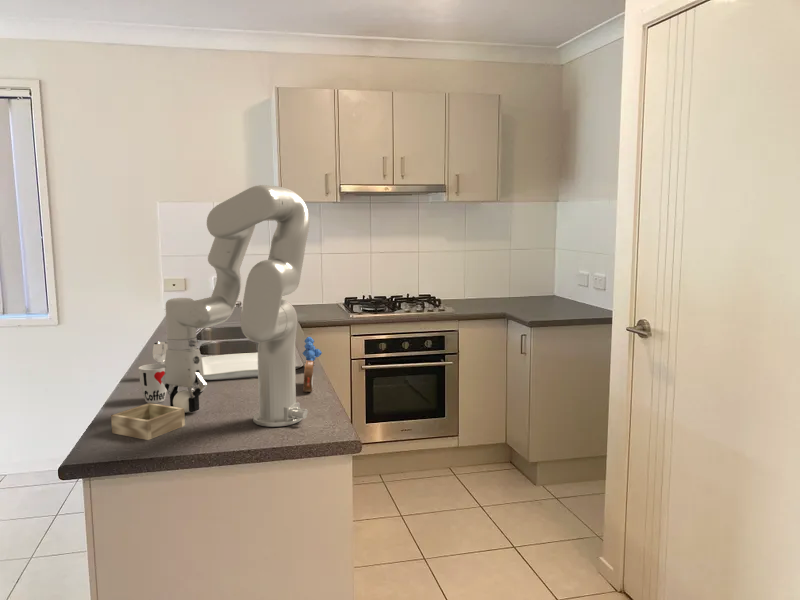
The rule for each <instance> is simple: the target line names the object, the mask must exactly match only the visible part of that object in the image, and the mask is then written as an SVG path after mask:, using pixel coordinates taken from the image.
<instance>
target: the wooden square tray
mask: <svg viewBox="0 0 800 600" xmlns="http://www.w3.org/2000/svg"><path fill="white" fill-rule="evenodd" d="M185 416H186V414H185V413H184V408H178V407H172V406H170V405H164V404H160V403H159V404H157V403H147V402H146V403H145V404H141V405H138V406H136V407H133V408H129V409H126V410H123V411H120V412H117V413H114V414H110V417H111V418H110V420H111V421H110V422H111V434H116V435H120V436H124V437H125V436H126V437H131V438H135V439H141V440H146V441H150V440H152V439H155V438H157V437H160V436H162V435H164V434H167V433H169V432H172V431H176V430H177V429H181V428H183V427H185V426H186V421H185V420H186V419H185V418H186V417H185Z"/></svg>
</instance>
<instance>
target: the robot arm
mask: <svg viewBox="0 0 800 600" xmlns="http://www.w3.org/2000/svg"><path fill="white" fill-rule="evenodd" d="M309 212H310V211H309V208H308V207H307V203H306V202H305V201H304V199H303V198H302V197H301V196H300V195H299V194H298V193H296V192H295V191H294V190H292V189H289V188H287V187H283V186H278V185H267V184H258V185H255V186H251V187H249V188H247V189H244V190H242V192H239V193H238V194H236V195H233V196H232V197H230V198H228V199H226V200H224V201H222V202H221V203H219V204H217V205H215V206H214V207H213V208H212V209H210V211H209V213H208V214H207V216H206V217H207V218H206V228H207V231H208V232H209V234H210V235H211V237H213V238H214V239H213V242H212V245H211V248H210V251H209V253H208V256H207V262H208V264H209V266H211V267H213V268H214V270H215V273H216V282H215V285H214V288H213V291H212V294H211V296H209V297H205V298H200V299H195V300H194V299H192V298H190V297H174V298H169V299H168V300H167V301H166V302H165V319H166V321H165V322H166V326H165V327H166V342H167V350H166V356H165V362H164V364H165V374H164V376H163V377H162V378H161V381H162V383H163V384H164V385H165V388H166V389H167V394H168V395H169V406H172V407H174V406H173V398H174V396H175V395H176V394H177V393H178V392H179V390H180V387H181V388H187V391H189V394H190V398H189V412H188V413H191V414H192V413H195V412H197V411H199V410H200V400H199V399H200V396H201V395H202V393H203V392H204V390H205V389H206V388H207V387H208V383H207V382H206V380H205V379H204V373H203V364H202V358H201V357H202V354H201V351H200V349H199V348H198V346H199V344H200V343H199V341H197V340H198V338H197V329H199V330H200V329H206V328H210V327H212V326H215V325H219V324H222V323H224V322H226V321H228V319H229V318H230V317H231V316H232V314H233V312H234V310H235V308H236V305H237V302H238V299H239V296H240V293H241V285H242V283H241V281H242V279H241V270H240V269H241V266H242V264H243V261H244V258H245V256H246V252H247V250H248V247H249V244H250V242H251V240H252V236H253V233H254V231H255V228H256V225H258V224H260V223H262V222H265V221H266V222H267V221H273V222H274V221H275V222H276V223H277V225H276V228H275V230H274V232H273V235H272V238H271V242H270V250H269V254H268V259H264V260H262V261H259V262H257V263H256V264H255V265H254V266H252V268H251V269H250V270H249V273H248V275H247V278H246V282H245V287H244V293H243V300H242V307H241V310H240V329H241V333H242V334H243V335H244V336H245V338H246V339H247V340H249V341H251V342H253V343H258V344H257V345H258V346H257V353H258V377H257V384H258V388H257V389H258V391H257V392H258V412H257V413H254V415H253V417H252V418H253V419H252V420H253V423H254V424H256V425H258V426H262V427H267V428H268V427H269V428H271V427H272V428H275V427H278V428H279V427H285V426H292V425H295V424H297V423H299V422H300V421H302V420H304V419H306V418H307V417H308V412H309V410H308V409H307V408H301V407H300V402H299V401H297V392H296V391H297V389H296V387H297V385H296V339H297V338H296V337H297V329H298V314H297V311H296V309H295V307H294V306H293V305H292V304H291V303H290V302H289V301H287V300H286V299H282V298H283V297H285V296H288V295H291V294H293V293H294V292H296V290H297V289H298V287H299V285H300V282H301V275H302V270H303V265H304V264H303V263H304V259H305V258H304V257H305V251H306V244H307V242H308V241H307V240H308V235H309V232H310V231H309V230H310V229H309V228H310V221H311V220H310V219H311V218H310V213H309Z"/></svg>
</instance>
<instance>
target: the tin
mask: <svg viewBox="0 0 800 600" xmlns="http://www.w3.org/2000/svg"><path fill="white" fill-rule="evenodd" d="M305 361H306V363H305V362H304V371H303V388H302V389H303V393H312V392H313V388H314V368H315V366H314V365H315V363H314V362H315V360H314V361H308V360H306V359H305Z"/></svg>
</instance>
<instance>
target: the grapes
mask: <svg viewBox="0 0 800 600" xmlns="http://www.w3.org/2000/svg"><path fill="white" fill-rule="evenodd" d="M304 343H305V344H304V346H303V347H304V349H305V350H304V351H303V352H302V354H303V356H304V357H305V362H304V364H305V363H306V360H308V361H314V367H315V363H316V362H315V360H316V358H319V357H321V355H322V354H323V352H322V351H321V349H319V348H316V346H315V345H314V343H315V340H314V339H313V338H312V336H307V337H306V338H305V339H304Z"/></svg>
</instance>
